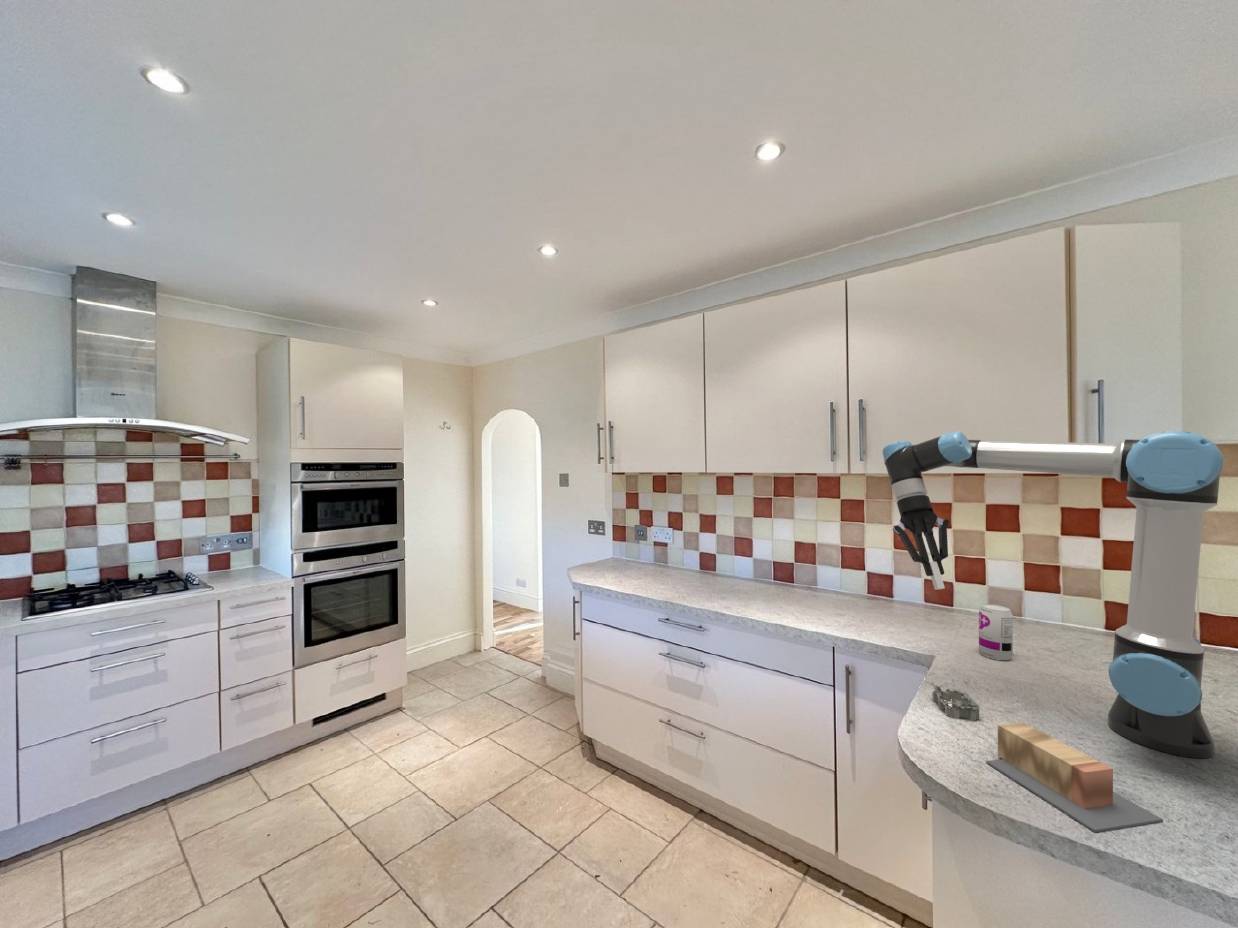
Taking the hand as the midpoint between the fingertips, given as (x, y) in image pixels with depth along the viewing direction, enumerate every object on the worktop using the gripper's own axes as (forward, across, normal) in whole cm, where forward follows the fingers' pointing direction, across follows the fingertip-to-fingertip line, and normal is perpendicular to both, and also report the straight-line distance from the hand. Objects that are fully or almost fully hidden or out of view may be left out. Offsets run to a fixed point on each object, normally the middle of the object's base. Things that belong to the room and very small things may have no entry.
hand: (939, 588), depth 119 cm
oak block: (+30, 0, +14) cm, 33 cm away
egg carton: (+28, +3, -5) cm, 28 cm away
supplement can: (+19, -23, -46) cm, 54 cm away
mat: (+37, -4, +22) cm, 43 cm away
